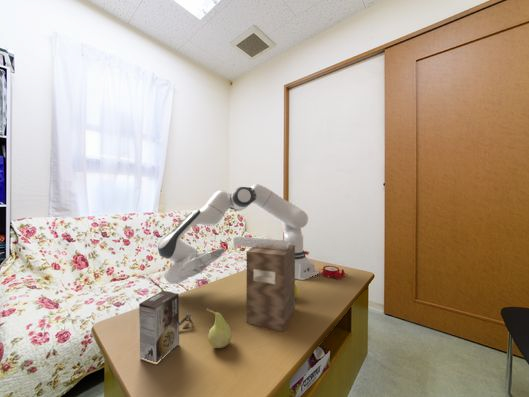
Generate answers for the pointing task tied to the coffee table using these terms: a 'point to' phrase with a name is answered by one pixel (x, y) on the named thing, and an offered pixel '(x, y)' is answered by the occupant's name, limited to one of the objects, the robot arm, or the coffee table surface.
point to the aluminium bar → (261, 243)
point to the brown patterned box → (270, 287)
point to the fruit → (219, 332)
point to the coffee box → (159, 325)
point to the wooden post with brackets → (186, 320)
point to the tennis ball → (296, 291)
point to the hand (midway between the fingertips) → (218, 252)
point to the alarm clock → (333, 271)
